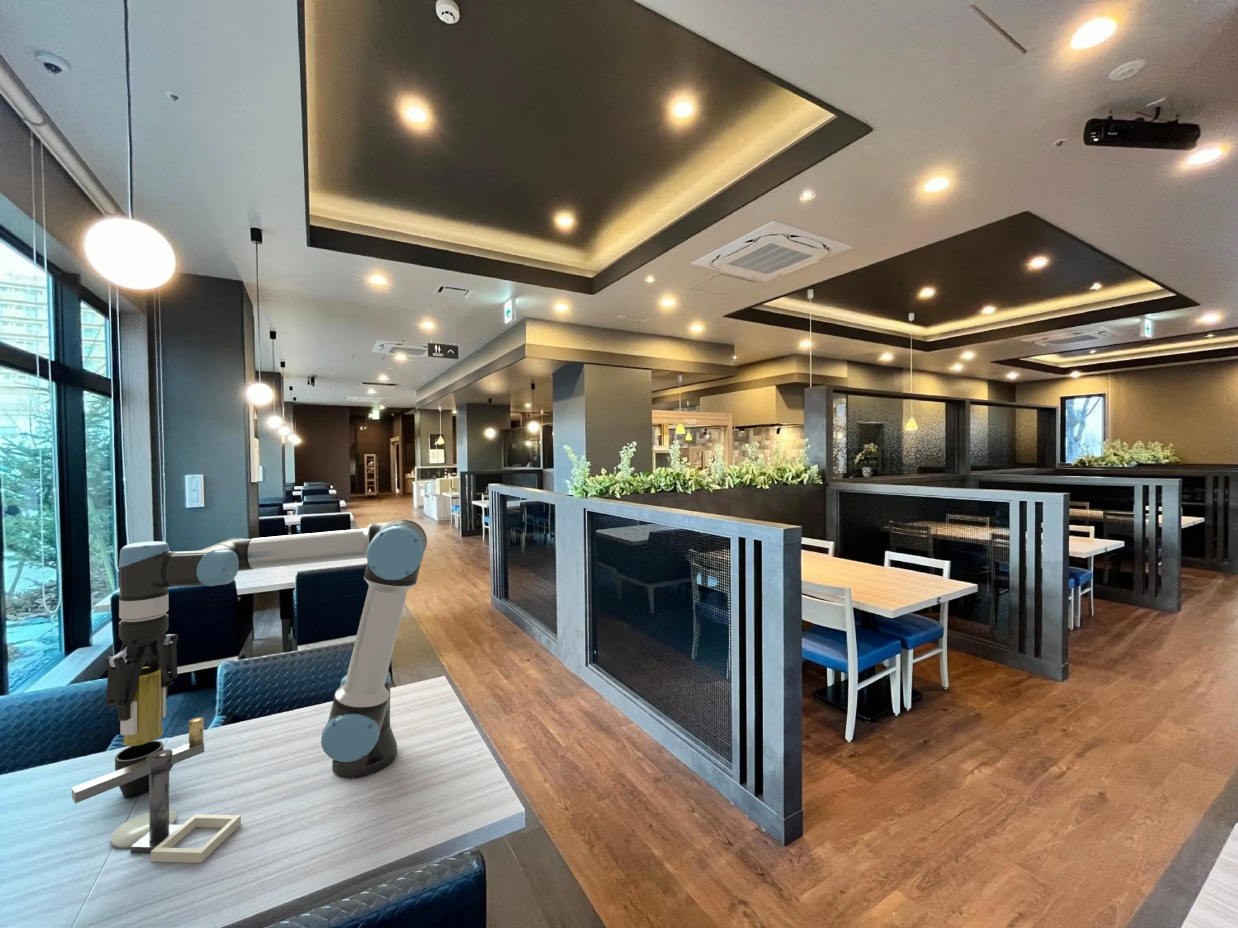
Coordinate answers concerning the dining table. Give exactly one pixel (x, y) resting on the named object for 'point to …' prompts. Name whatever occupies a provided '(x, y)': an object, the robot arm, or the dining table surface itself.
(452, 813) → the dining table surface
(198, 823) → the cream rectangular frame
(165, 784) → the post
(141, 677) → the vase
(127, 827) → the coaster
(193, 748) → the bar
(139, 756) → the mug
